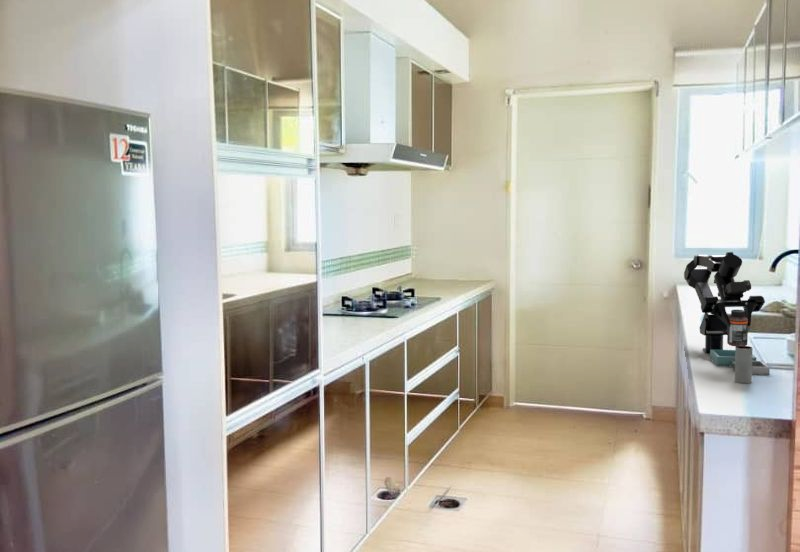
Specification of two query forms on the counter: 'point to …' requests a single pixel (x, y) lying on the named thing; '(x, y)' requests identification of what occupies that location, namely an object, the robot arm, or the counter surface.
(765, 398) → the counter surface
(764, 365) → the collar
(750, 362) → the grey hollow cylinder
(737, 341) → the supplement bottle
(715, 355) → the bin
